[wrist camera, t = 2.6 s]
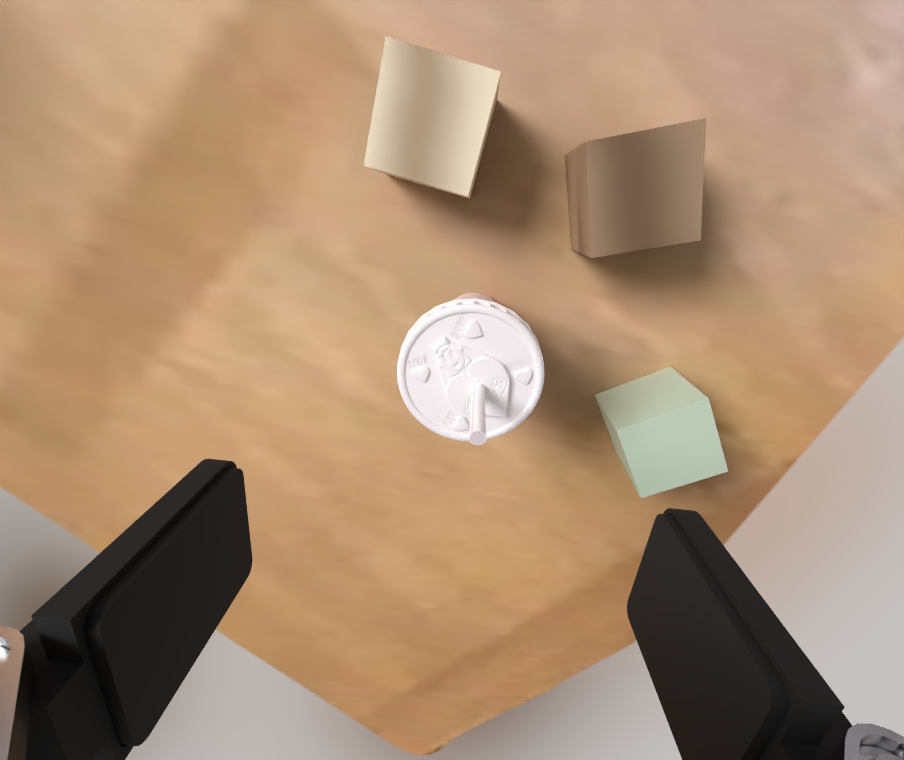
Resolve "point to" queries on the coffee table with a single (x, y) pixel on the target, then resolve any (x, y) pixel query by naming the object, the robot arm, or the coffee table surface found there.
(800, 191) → the coffee table surface
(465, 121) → the maple cube
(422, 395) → the smoothie
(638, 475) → the sage painted cube
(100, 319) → the coffee table surface
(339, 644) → the coffee table surface
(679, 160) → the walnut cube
